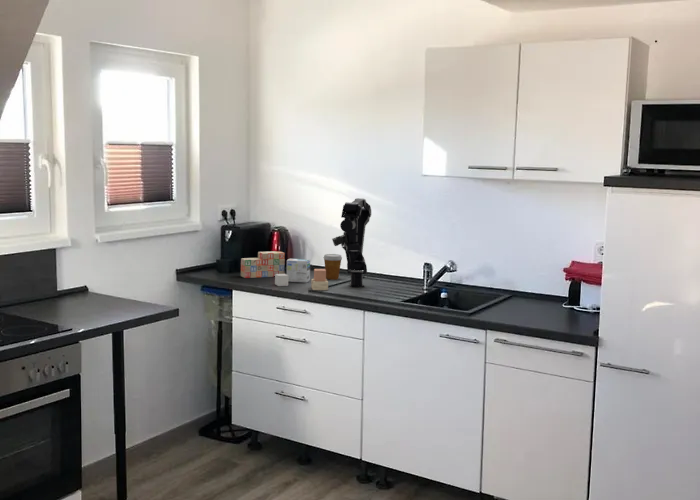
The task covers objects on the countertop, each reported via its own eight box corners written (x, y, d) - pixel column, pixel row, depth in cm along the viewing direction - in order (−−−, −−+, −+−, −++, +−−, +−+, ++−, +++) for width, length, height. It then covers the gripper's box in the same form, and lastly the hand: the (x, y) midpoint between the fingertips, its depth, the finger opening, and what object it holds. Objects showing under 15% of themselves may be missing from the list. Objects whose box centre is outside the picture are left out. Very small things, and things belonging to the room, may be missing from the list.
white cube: (274, 284, 368) (275, 274, 367) (284, 284, 370) (285, 273, 369) (278, 286, 363) (278, 275, 363) (288, 285, 365) (288, 275, 365)
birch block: (311, 287, 363) (311, 279, 362) (325, 287, 364) (326, 279, 363) (313, 290, 356) (313, 281, 355) (327, 290, 357) (328, 281, 356)
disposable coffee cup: (335, 276, 395) (336, 253, 394) (345, 279, 387) (345, 256, 386) (319, 277, 390) (320, 254, 389) (328, 280, 382) (329, 256, 381)
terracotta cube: (313, 279, 361) (314, 268, 361) (324, 279, 362) (324, 268, 361) (315, 281, 356) (315, 270, 356) (325, 281, 357) (326, 270, 357)
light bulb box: (310, 280, 381) (310, 259, 380) (307, 282, 375) (307, 261, 373) (289, 279, 383) (289, 257, 382) (285, 281, 377) (286, 259, 375)
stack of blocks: (244, 278, 383) (244, 253, 381) (240, 276, 388) (240, 252, 387) (284, 276, 392) (285, 252, 390) (280, 274, 398) (280, 250, 396)
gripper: (330, 227, 359) (330, 260, 361) (336, 232, 341) (335, 266, 343) (354, 227, 361) (353, 260, 363) (361, 232, 343) (360, 266, 345)
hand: (350, 263), depth 353 cm, fingers open, 9 cm apart
